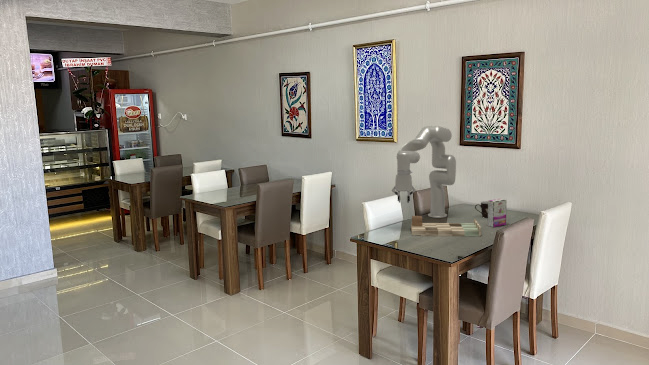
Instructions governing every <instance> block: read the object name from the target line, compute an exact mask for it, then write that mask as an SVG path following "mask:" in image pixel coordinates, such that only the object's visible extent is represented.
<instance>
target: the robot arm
mask: <svg viewBox="0 0 649 365" xmlns="http://www.w3.org/2000/svg"><path fill="white" fill-rule="evenodd" d="M452 136H453V135H452V131H451V130H450V129H449V128H447V127H444V126H443V127H442V126H439V125H435V126H433V125H426V126H423V127H422V128H421V130H420V131H419V132H418V134H417V135H416V136H415V138H414V139H412V140H409V141H408V142H406V143H404V144H403V145H402V146H401V147H400V149H398V151H397V153H396V161H397V162H396V165H397V166H396V167H397V169H396V170H397V172H396V173H397V174H396V175H395V181H394V184H395V185H394V187H393V188H392V189H391V192H392V193H394V194H395V195H396V196H397V202H398V204H399V203H401V195H400V193H401V192H406V193H407V196H406V197H407V199H406V200H407V201H406V202H407V203H408V204H409V202H410V200H411V195H412V194H414V193H415V192H416V191H417V190H416V189H415V187H414V186H413V180H412V173H413V171H412V170H411V164H417V163H418V162H419V161H420V159H421V156H420V155H421V154H420V153H419V152H417V151H420V150H423V149H425V148H426V147H427V145H428V144H429V143H430V145H431V153H432V154H431V165H432V167H433V168H435V170H432V171H430V172H429V175H428V179H429V185H430V212H429V213H428V214H427V216H428V217H429V218H434V219H440V218H441V219H442V218H447V217H448V214H447V213H446V211H445V210H446V206H445V205H446V204H445V203H446V202H445V201H446V199H445V198H446V190H445V188H444V186H453V185H454V184H455V183H456V174H457V160H456V157H455V156H454V155H453V154H446V146H445V143H447V142H449V141H451V139H452ZM440 169H441V170H440ZM443 169H445V170H443Z"/></svg>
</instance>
